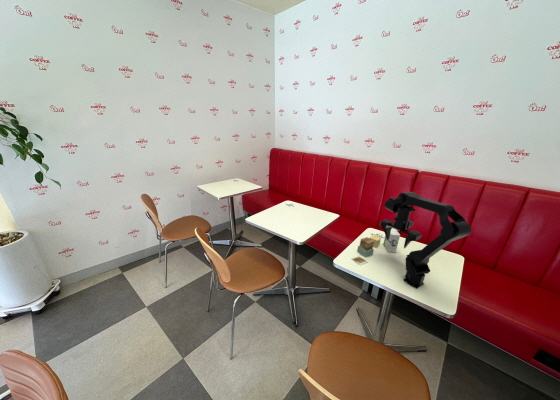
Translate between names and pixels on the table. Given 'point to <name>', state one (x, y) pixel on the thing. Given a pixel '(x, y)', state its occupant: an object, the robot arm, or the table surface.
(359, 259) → the swatch
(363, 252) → the base block
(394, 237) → the ink box
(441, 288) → the table surface
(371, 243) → the walnut cube
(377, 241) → the ochre cube
